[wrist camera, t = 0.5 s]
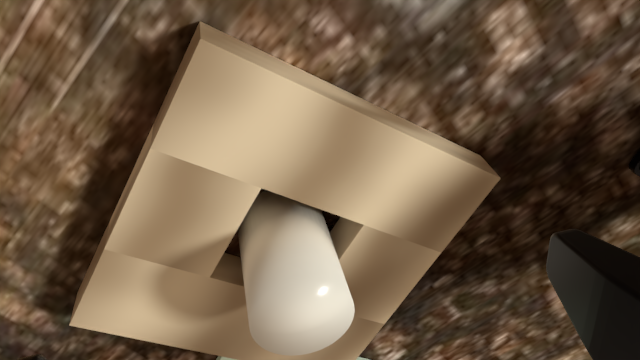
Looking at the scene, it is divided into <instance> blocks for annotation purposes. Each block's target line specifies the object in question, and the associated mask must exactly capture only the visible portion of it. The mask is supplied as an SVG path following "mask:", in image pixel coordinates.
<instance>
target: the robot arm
mask: <svg viewBox="0 0 640 360" xmlns="http://www.w3.org/2000/svg"><path fill="white" fill-rule="evenodd" d="M629 169H630V170H631V171H633V172H634V173H635V174H637V175H638V176H640V151H639V152H638V154H637V155H636V156H635V157H634V158H633V159H632V160H631V162H630V164H629ZM546 270H547V274H548V277H549V279H550V281H551V283H552V285H553V287H554V289H555V291H556V293H557V295H558V297H559V298H560V300H561V302H562V304H563V306H564V308H565V310H566V312H567V314H568V315H569V317H570V319H571V321H572V323H573V325H574V327H575V329H576V331H577V333H578V334H579V336H580V338H581V340H582V342H583V344H584V345H585V347H586V349H587V351H588V352H589V354H590V355H591V357H592V359H593V360H640V257H638V256H636V255H634V254H631V253H629V252H627V251H625V250H622V249H620V248H618V247H616V246H614V245H611V244H609V243H607V242H605V241H603V240H600V239H598V238H596V237H594V236H592V235H589V234H587V233H585V232H583V231H581V230H578V229H568V230H563V231H559V232H555V233H553V234H552V236H551V237H550V242H549V249H548V257H547V264H546ZM17 360H47V359H46V358H45V357H44V356H43V355H41V354H36V355H32V356H28V357H24V358H19V359H17Z"/></svg>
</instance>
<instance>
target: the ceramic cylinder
mask: <svg viewBox="0 0 640 360" xmlns="http://www.w3.org/2000/svg"><path fill="white" fill-rule="evenodd" d="M238 238H239V246H240V254H241V263H242V271H243V280H244V288H245V296H246V305H247V313H248V322H249V329H250V333H251V336H252V338H253V339H254V341H255V342H256V343H257V344H258V345H259V346H261V347H262V348H263V349H265V350H267V351H269V352H272V353H275V354H280V355H289V356H294V355H304V354H309V353H313V352H316V351H319V350H321V349H323V348H325V347H327V346H329V345H331V344H333V343H334V342H335V341H337V340H338V339H339V338H340V337H341V336H343V335H344V333H345V332H346V331H347V330H348V328H349V327H350V325H351V323H352V321H353V318H354V312H355V308H354V302H353V299H352V296H351V294H350V291H349V288H348V285H347V282H346V279H345V276H344V273H343V271H342V268H341V265H340V262H339V259H338V256H337V253H336V251H335V248H334V245H333V242H332V239H331V236H330V233H329V230H328V228H327V225H326V222H325V219H324V216H323V213H322V210H321V209H318V208H315V207H312V206H310V205H307V204H304V203H301V202H298V201H296V200H293V199H290V198H287V197H284V196H282V195H279V194H276V193H273V192H270V191H268V190H266V191H263V192H261V193H259V194H258V195H257V197H256V199H255V200H254V202H253V204H252V205H251V207H250V209H249V211H248V212H247V214H246V216H245V218H244V219H243V221H242V223H241V224H240V226H239V228H238Z"/></svg>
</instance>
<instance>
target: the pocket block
mask: <svg viewBox="0 0 640 360" xmlns="http://www.w3.org/2000/svg"><path fill="white" fill-rule="evenodd" d="M500 179H501V178H500V177H499V176H498V175H497V173H496V172H495V171H494V170H493V169H492V168H491V167H490V166H489V165H488V163H487V162H486V161H485V160H484V159H483V158H482V157H481V156H480V155H478V154H476V153H474V152H472V151H470V150H468V149H466V148H464V147H461V146H459V145H457V144H455V143H453V142H451V141H449V140H447V139H445V138H443V137H441V136H439V135H436V134H434V133H432V132H430V131H428V130H426V129H424V128H422V127H420V126H418V125H416V124H413V123H411V122H409V121H407V120H405V119H403V118H401V117H399V116H397V115H395V114H393V113H390V112H388V111H386V110H384V109H382V108H380V107H378V106H376V105H374V104H372V103H370V102H368V101H365V100H363V99H361V98H359V97H357V96H355V95H353V94H351V93H349V92H347V91H345V90H342V89H340V88H338V87H336V86H334V85H332V84H330V83H328V82H326V81H324V80H322V79H320V78H317V77H315V76H313V75H311V74H309V73H307V72H305V71H303V70H301V69H299V68H297V67H294V66H292V65H290V64H288V63H286V62H284V61H282V60H280V59H278V58H276V57H274V56H271V55H269V54H267V53H265V52H263V51H261V50H259V49H257V48H255V47H253V46H251V45H249V44H246V43H244V42H242V41H240V40H238V39H236V38H234V37H232V36H230V35H228V34H226V33H223V32H221V31H219V30H217V29H215V28H213V27H211V26H209V25H207V24H205V23H203V22H201V21H200V22H199V24H198V26H197V28H196V31H195V33H194V35H193V37H192V39H191V42H190V44H189V46H188V48H187V51H186V53H185V55H184V57H183V59H182V62H181V64H180V66H179V68H178V70H177V73H176V75H175V77H174V79H173V82H172V84H171V86H170V88H169V90H168V93H167V95H166V97H165V99H164V102H163V104H162V106H161V108H160V110H159V113H158V115H157V117H156V119H155V122H154V124H153V126H152V128H151V130H150V133H149V135H148V137H147V139H146V141H145V144H144V146H143V148H142V150H141V153H140V155H139V157H138V159H137V161H136V164H135V166H134V168H133V170H132V173H131V175H130V177H129V179H128V181H127V184H126V186H125V188H124V190H123V192H122V195H121V197H120V199H119V201H118V204H117V206H116V208H115V210H114V212H113V215H112V217H111V219H110V221H109V224H108V226H107V228H106V230H105V232H104V235H103V237H102V239H101V241H100V243H99V246H98V248H97V250H96V252H95V255H94V257H93V259H92V261H91V263H90V266H89V268H88V270H87V272H86V275H85V277H84V279H83V281H82V283H81V286H80V288H79V290H78V292H77V296H76V300H75V304H74V308H73V312H72V316H71V320H70V324H69V326H74V327H79V328H84V329H89V330H94V331H99V332H104V333H109V334H114V335H119V336H124V337H129V338H134V339H138V340H143V341H148V342H153V343H158V344H163V345H168V346H173V347H178V348H183V349H188V350H193V351H198V352H203V353H208V354H212V355H217V356H222V357H227V358H232V359H237V360H356V359H357V358H358V357H359V355H360V354H361V353H362V352H363V350H364V349H365V348H366V347H367V345H368V344H369V343H370V341H371V340H372V339H373V338H374V336H375V335H376V334H377V333H378V331H379V330H380V329H381V328H382V326H383V325H384V324H385V323H386V321H387V320H388V319H389V318H390V316H391V315H392V314H393V313H394V311H395V310H396V309H397V308H398V306H399V305H400V304H401V303H402V301H403V300H404V299H405V298H406V296H407V295H408V294H409V293H410V291H411V290H412V289H413V288H414V286H415V285H416V284H417V283H418V281H419V280H420V279H421V278H422V276H423V275H424V274H425V273H426V271H427V270H428V269H429V268H430V266H431V265H432V264H433V263H434V261H435V260H436V259H437V258H438V256H439V255H440V254H441V253H442V251H443V250H444V249H445V248H446V246H447V245H448V244H449V243H450V241H451V240H452V239H453V237H454V236H455V235H456V234H457V232H458V231H459V230H460V229H461V227H462V226H463V225H464V224H465V222H466V221H467V220H468V219H469V217H470V216H471V215H472V214H473V212H474V211H475V210H476V209H477V207H478V206H479V205H480V204H481V202H482V201H483V200H484V199H485V197H486V196H487V195H488V194H489V192H490V191H491V190H492V189H493V187H494V186H495V185H496V184H497V182H498V181H499V180H500ZM261 188H262V189H265V190H268V191H270V192H273V193H276V194H279V195H282V196H284V197H287V198H290V199H293V200H296V201H298V202H301V203H304V204H307V205H310V206H312V207H315V208H318V209H321V210H323V211H326V212H329V213H332V214H335V215H337V216H340V218H339V220H338V221H337V223H336V224H335V226H334V227H333V229H332V230H331V232H330V236H331V239H332V242H333V245H334V248H335V251H336V253H337V256H338V259H339V262H340V265H341V268H342V271H343V273H344V276H345V279H346V282H347V285H348V288H349V291H350V294H351V296H352V299H353V302H354V308H355V312H354V318H353V321H352V323H351V325H350V327H349V328H348V330H347V331H346V332H345V333H344V335H343V336H341V337H340V338H339V339H338V340H337V341H335V342H334V343H333V344H331V345H329V346H327V347H325V348H323V349H321V350H319V351H316V352H313V353H309V354H304V355H294V356H289V355H280V354H275V353H272V352H269V351H267V350H265V349H263V348H262V347H261V346H259V345H258V344H257V343H256V342H255V341H254V339H253V338H252V336H251V333H250V329H249V322H248V313H247V305H246V296H245V288H244V280H243V271H242V263H241V257H237V256H234V255H231V254H227V253H224V252H225V250H226V249H227V247H228V245H229V243H230V242H231V240H232V238H233V236H234V235H235V233H236V231H237V230H238V228H239V226H240V224H241V223H242V221H243V219H244V218H245V216H246V214H247V212H248V211H249V209H250V207H251V205H252V204H253V202H254V200H255V199H256V197H257V195H258V193H259V192H260V190H261Z"/></svg>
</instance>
